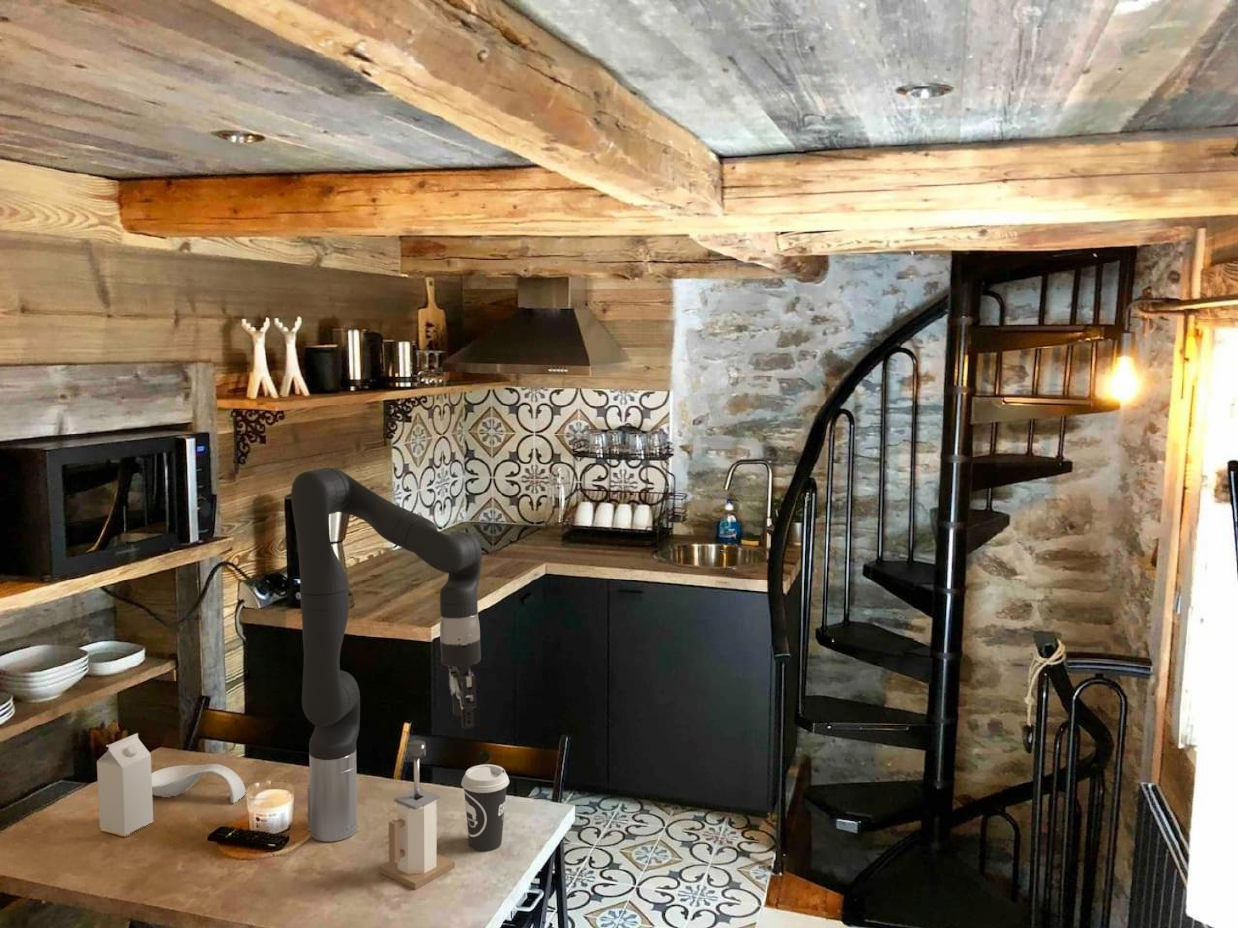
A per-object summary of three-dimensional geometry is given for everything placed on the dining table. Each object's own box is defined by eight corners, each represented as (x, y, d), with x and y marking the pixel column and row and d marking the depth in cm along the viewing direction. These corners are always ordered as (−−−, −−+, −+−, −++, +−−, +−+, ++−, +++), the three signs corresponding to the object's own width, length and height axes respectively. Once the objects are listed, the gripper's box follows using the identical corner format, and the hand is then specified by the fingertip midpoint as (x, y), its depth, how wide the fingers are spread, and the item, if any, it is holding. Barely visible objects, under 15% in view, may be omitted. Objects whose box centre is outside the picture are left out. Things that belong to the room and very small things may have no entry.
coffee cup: (500, 857, 195) (500, 784, 193) (454, 852, 196) (454, 779, 195) (515, 834, 204) (515, 765, 202) (471, 829, 206) (470, 760, 204)
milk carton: (99, 831, 203) (95, 742, 201) (128, 816, 209) (124, 730, 207) (125, 838, 200) (121, 747, 198) (153, 823, 207) (150, 735, 204)
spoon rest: (129, 800, 217) (128, 769, 217) (164, 778, 229) (163, 748, 228) (225, 812, 212) (224, 780, 212) (256, 789, 224) (255, 758, 223)
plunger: (398, 812, 188) (398, 744, 186) (417, 803, 192) (417, 736, 190) (416, 820, 185) (415, 750, 183) (435, 810, 189) (434, 742, 187)
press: (374, 874, 187) (373, 801, 186) (419, 851, 196) (418, 781, 195) (410, 892, 182) (410, 816, 180) (454, 867, 191) (454, 794, 189)
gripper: (433, 632, 194) (437, 713, 195) (447, 648, 181) (451, 735, 182) (471, 628, 197) (474, 708, 198) (488, 643, 183) (491, 729, 184)
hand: (463, 721), depth 190 cm, fingers open, 8 cm apart
